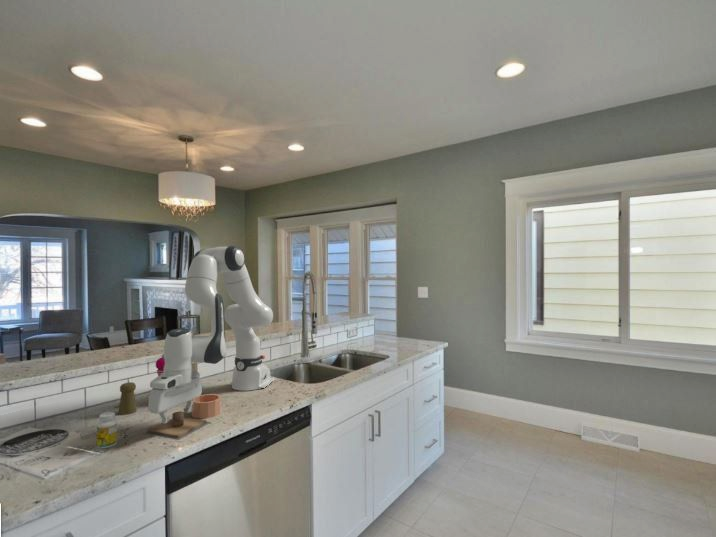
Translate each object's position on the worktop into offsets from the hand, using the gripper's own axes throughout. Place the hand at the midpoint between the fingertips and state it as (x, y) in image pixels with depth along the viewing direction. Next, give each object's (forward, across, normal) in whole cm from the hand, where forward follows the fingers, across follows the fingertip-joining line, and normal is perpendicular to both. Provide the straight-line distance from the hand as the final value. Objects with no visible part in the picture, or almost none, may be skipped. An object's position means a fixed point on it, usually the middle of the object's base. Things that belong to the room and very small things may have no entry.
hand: (176, 417), depth 127 cm
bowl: (+4, -14, 0) cm, 15 cm away
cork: (+4, -6, -30) cm, 31 cm away
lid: (+3, 0, 0) cm, 3 cm away
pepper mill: (+4, -19, -26) cm, 33 cm away
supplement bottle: (+4, +17, -11) cm, 20 cm away
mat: (+4, 0, 0) cm, 4 cm away
